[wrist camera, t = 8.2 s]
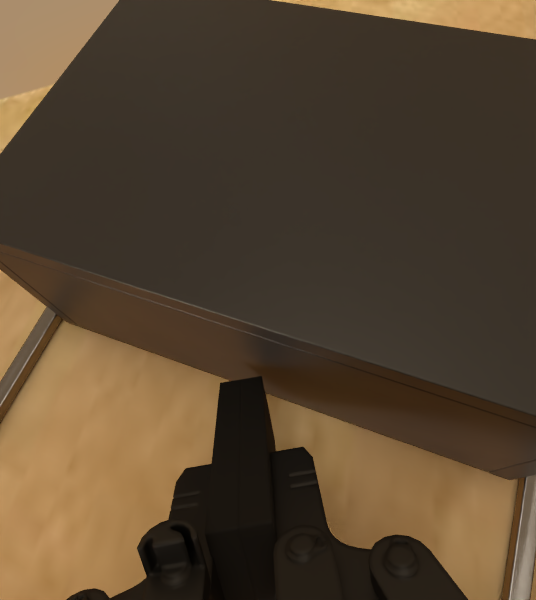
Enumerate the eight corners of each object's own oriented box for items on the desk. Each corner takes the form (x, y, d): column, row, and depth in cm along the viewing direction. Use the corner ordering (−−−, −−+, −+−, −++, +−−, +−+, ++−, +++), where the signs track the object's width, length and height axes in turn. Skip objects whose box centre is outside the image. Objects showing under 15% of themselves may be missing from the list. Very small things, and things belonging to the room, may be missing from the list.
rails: (-79, 525, 19) (-90, 525, 18) (168, 122, 27) (165, 114, 27) (493, 823, 14) (501, 835, 13) (574, 213, 22) (580, 206, 22)
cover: (65, 321, 22) (-56, 225, 15) (182, 124, 27) (134, -21, 20) (510, 480, 17) (651, 454, 10) (552, 207, 22) (667, 58, 15)
